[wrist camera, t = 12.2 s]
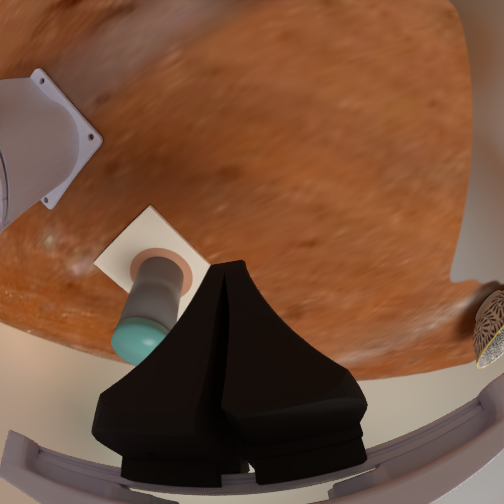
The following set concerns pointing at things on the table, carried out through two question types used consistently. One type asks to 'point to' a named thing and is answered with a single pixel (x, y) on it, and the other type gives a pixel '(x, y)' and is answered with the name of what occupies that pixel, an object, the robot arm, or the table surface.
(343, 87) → the table surface
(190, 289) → the paper
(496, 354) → the bowl
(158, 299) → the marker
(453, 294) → the table surface
